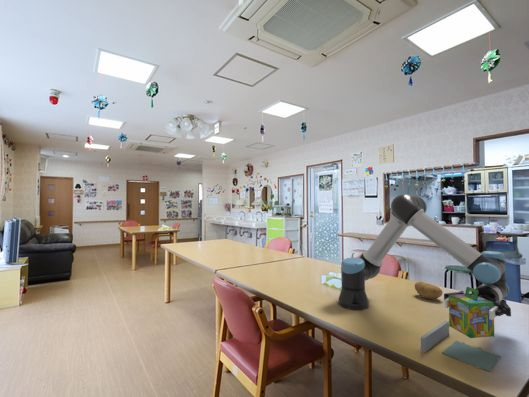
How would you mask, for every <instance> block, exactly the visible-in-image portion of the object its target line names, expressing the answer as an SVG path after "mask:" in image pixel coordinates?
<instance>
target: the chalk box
mask: <svg viewBox="0 0 529 397" xmlns="http://www.w3.org/2000/svg"><path fill="white" fill-rule="evenodd" d="M470 292H471V293H472V292H474V295H473V294H469V293H470ZM464 293H465V294H454V295H449V307H448V311H449V312H448V318H449V319H448V321H449V328H452V329H454V330H456V331H457V332H459V333H461V334H463V335H464V336H466V337H468V338H469V339H477V338H489V337H490V338H492V337H495V318H494V319H493V320H490V319H489V310H491V309H492V308H493V307H494V303H493V302H491V301H489V300H487V299H484V298H481V297H479V296H478V294H479V291H478V290H476V288H473V287H471V286H470V287H469V286H467V287H466V289H465V291H464Z"/></svg>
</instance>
